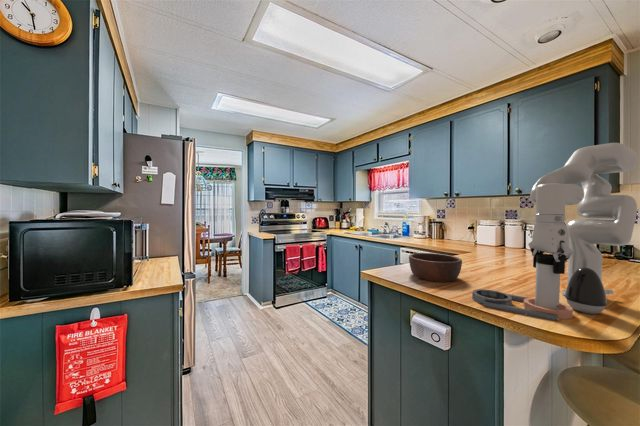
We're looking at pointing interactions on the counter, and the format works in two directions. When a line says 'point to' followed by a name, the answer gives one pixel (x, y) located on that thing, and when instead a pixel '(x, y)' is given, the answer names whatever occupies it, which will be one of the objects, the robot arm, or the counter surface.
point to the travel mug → (546, 283)
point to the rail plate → (506, 303)
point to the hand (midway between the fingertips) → (548, 270)
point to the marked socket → (562, 313)
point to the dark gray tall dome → (586, 292)
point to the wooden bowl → (435, 266)
